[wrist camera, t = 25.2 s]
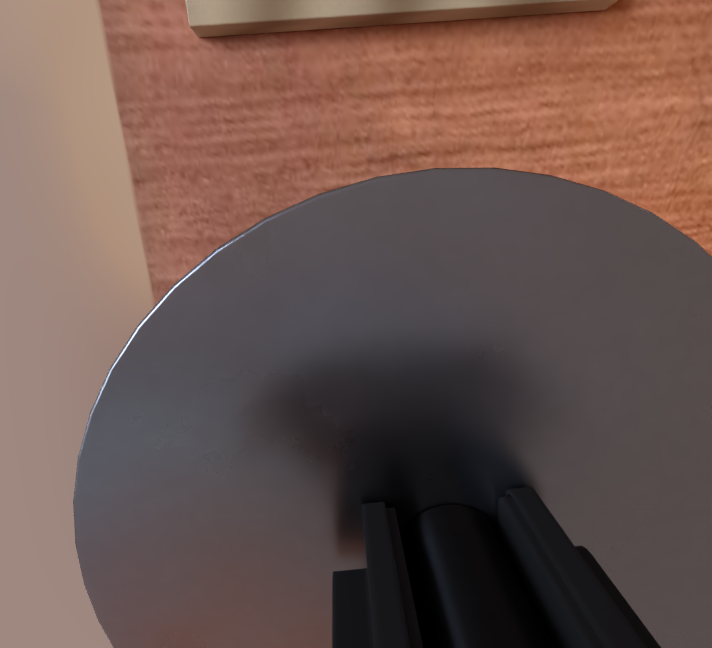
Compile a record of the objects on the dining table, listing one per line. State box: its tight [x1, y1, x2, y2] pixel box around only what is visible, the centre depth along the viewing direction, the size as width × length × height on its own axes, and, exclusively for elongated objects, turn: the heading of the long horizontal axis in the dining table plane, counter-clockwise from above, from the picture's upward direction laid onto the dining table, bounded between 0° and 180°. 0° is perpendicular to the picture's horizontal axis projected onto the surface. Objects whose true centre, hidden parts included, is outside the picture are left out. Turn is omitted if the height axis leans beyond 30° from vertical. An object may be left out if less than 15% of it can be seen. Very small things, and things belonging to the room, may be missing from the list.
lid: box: [73, 168, 712, 648], centre depth 8 cm, size 17×17×6 cm
